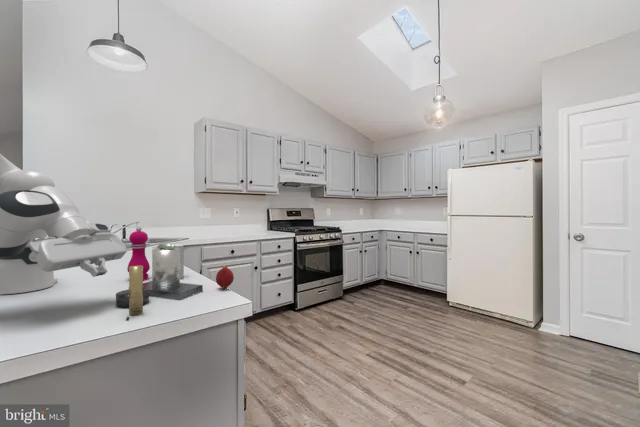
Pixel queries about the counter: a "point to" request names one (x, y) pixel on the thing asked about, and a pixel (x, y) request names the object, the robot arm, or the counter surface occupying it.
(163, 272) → the instrument stand
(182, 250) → the small box
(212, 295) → the counter surface
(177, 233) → the counter surface
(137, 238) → the pepper mill
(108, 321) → the counter surface
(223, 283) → the onion
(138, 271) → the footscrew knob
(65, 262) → the robot arm
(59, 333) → the counter surface
